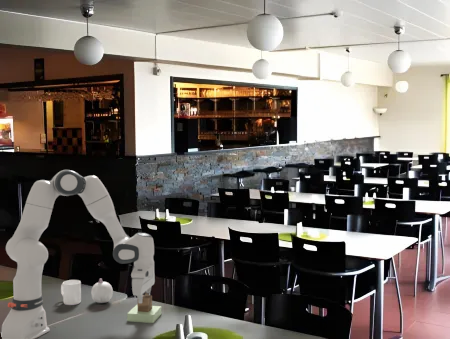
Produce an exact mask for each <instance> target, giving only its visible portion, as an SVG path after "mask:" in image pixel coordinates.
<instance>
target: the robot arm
mask: <svg viewBox="0 0 450 339" xmlns="http://www.w3.org/2000/svg"><path fill="white" fill-rule="evenodd" d="M74 195H78V196H79V197H80V198H81V199H82V201H83V203H84V205H85V207H86V209H87V211H88V213H90V215H91V216H92V217H93V219H95V220H97V221H99V222H101V223H102V224H103V225H104V226H105V228H106V229H107V232H108V233H109V236H110V237H111V238H112V241H113V251H112V257H113V259H114V261H116V262H117V264H121V265H122V264H129V263H133V268H132V271H131V274H130V276H131V277H130V278H131V287H132V288H131V290H132V294H133V296H136V298H137V304H138V303H143V298H142V296H143V295H151V291H152V286H154V285H155V282H156V279H155V276H156V275H155V260H154V256H155V243H154V238H153V236H152V235H151V234H149V233H146V232H137V233H135V234H134V235H133V236H131V237H130V236H129V234H127V233H126V232H125V230H124V228H123V226H122V224H121V223H120V221H119V219H118V217H117V214H116V210H115V206H114V202H113V200H112V198H111V196H110V193H109V192H108V189H107V187H105V185H104V184H103V182H102V181H101V179H99V177H98V176H96V175H87V176H82V175H81V174H79V173H78V172H76V171H74V170H70V169H63V170H60V171H59V172H57V173H56V174H55V175H54V176H53V177H51V178H50V180H45V179H40V180H36V181H35V182H34V183H33V185H32V186H31V188H30V191H29V193H28V195H27V198H26V201H25V205H24V207H23V211H22V215H21V218H20V222H19V223H18V226H17V228H16V230H15V231H14V234H12V237H10V239H8V241H7V243H6V245H5V251H6V254H7V255H8V256H9V258H10V259H11V260H12V261H14V262H16V264H17V267H16V274H15V276H14V277H13V280H12V283H13V284H12V287H13V288H12V289H13V297H12V299H11V301H9V302H8V303H7V307H8V308H10V310H9V312H8V314H7V316H6V317H5V319H4V321H3V323H2V325H1V332H0V333H1V337H2V339H37V338H38V337H41V336H42V335H45V334H46V333H48V332H50V327H49V326H48V323H47V322H48V321H47V312H46V310H45V309H44V307H43V304H44V296H43V294H42V275H43V270H44V266H45V264H46V263H47V261H48V259H49V251H48V248H47V247H46V246H45V245H44V244H43V243H42V242H41V241H39V240H40V238H41V236H42V234H43V233H44V231H45V230H46V229H47V228H48V227H49V223H50V220H51V215H52V212H53V209H54V204H55V201H56V199H57V198H58V197H59V196H64V197H65V196H66V197H69V196H74Z"/></svg>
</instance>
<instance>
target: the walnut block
mask: <svg viewBox="0 0 450 339" xmlns="http://www.w3.org/2000/svg"><path fill="white" fill-rule="evenodd" d="M142 298H143V303H138V302H137V305H138V311H140V312H149V311H150V310H151V309H152V306H153V295H151V294H150V295H145V294H143V296H142Z"/></svg>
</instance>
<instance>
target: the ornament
mask: <svg viewBox="0 0 450 339" xmlns="http://www.w3.org/2000/svg"><path fill="white" fill-rule="evenodd" d="M90 291H91V294H90V296H91V298H92V300H93V301H94V302H95V303H97V304H106V303H108V302H109V301H110V300H111V299H112V298H113V294H114V290H113V287H112V285H111V284H110V283H109V282H107V281H103V278H99V279H98V282H96V283H95V284H93V285H92V287H91V290H90Z"/></svg>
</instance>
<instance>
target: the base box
mask: <svg viewBox="0 0 450 339" xmlns="http://www.w3.org/2000/svg"><path fill="white" fill-rule="evenodd" d="M162 308H163V307H162V306H161V305H160V306H159V305H152V309H151V310H150V311H149V312H140V311H138V304H136V305H135V306H134V307H132V308H131V309H130V310H129V311H128V312H127V313H126V316H127V317H126V321H127V322H133V323H134V322H135V323H147V324H154V323H155V322H156V321H157V320H158V319H159V317H160V316H161V315H162Z"/></svg>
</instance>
